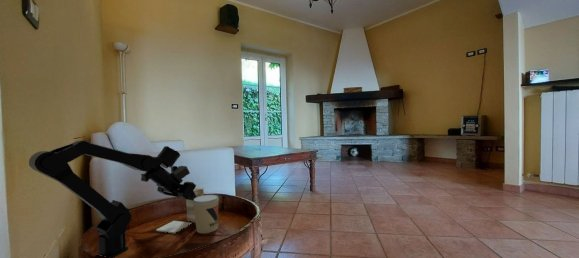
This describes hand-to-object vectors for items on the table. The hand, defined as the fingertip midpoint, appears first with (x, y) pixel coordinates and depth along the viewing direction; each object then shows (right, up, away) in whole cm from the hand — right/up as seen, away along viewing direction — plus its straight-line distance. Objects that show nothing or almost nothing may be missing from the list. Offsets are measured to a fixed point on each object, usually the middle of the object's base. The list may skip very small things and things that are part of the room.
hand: (190, 198), depth 104 cm
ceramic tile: (-4, -10, -5) cm, 12 cm away
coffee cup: (+10, -10, -8) cm, 16 cm away
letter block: (+2, -10, +2) cm, 10 cm away
